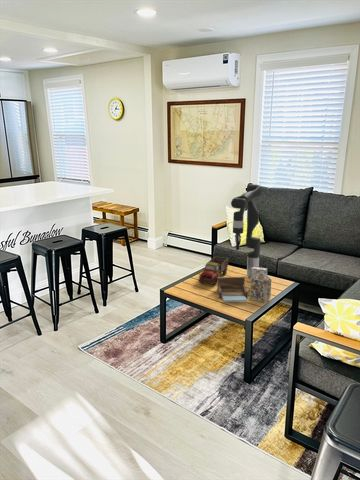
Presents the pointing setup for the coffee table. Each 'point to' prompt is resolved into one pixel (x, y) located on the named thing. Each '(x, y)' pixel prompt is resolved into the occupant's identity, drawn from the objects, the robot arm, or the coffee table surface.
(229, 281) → the box
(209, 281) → the toy truck
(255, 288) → the decorative jar
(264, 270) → the candy bar box
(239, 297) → the panel
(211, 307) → the coffee table surface
